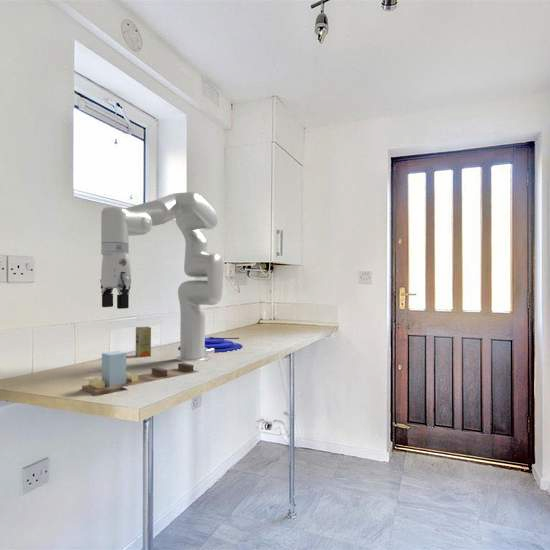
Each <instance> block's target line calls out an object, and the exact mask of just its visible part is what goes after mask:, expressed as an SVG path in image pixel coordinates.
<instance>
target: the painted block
mask: <svg viewBox="0 0 550 550" xmlns="http://www.w3.org/2000/svg"><path fill="white" fill-rule="evenodd" d="M126 373H127V352H125V351H119V350H117V351H116V350H115V351H110V352H109V351H108V352H107V351H106V352H102V353H101V380H103V381H105V385H106V386H108V387H112V386H117V385H122V384H126Z"/></svg>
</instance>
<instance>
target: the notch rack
mask: <svg viewBox="0 0 550 550" xmlns="http://www.w3.org/2000/svg"><path fill="white" fill-rule="evenodd" d="M199 372H200V371H199V370H195V369H194V364H192V363H185V362H180V363H179V362H178V364H177V367H176V368H170V369H165V368H162V367H158V366H157V367H151V372H149V373H144V374H135V373H131V372H129V371H126V384H122V385H117V386H112V387H108V386H106V385H105V381H103V380H102V379H99V378H97V377H92V378H88V384H83V385H81V390H84V391H86V392H88V393H89V394H93V395H94V396H102V395H107V394H112V393H117V392H122V391H126V390H128V389H127V388H125V387H129V386H135V385H139V384H144V383H150V382H155V381H159V380H166V379H169V378H174V377H180V376H184V375H190V374H194V373H199Z"/></svg>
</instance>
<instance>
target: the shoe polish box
mask: <svg viewBox="0 0 550 550" xmlns="http://www.w3.org/2000/svg"><path fill="white" fill-rule="evenodd" d="M151 350H152V327H150V326H149V325H148V326H136V327H135V357H138V358H143V357H144V358H145V357H152V354H151V353H152V351H151Z"/></svg>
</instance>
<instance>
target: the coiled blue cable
mask: <svg viewBox="0 0 550 550" xmlns="http://www.w3.org/2000/svg"><path fill="white" fill-rule="evenodd" d="M238 339H240V337H213V336H209V337H205V348H207V349H211V348H214V353H215V354H216V353H217V354H218V353H219V352H221V353H228V352H227V351H230V352H234V351H233V350H235V351H238V350H237V349H239V350H241V348H242V347H243V345H242V344H241V343H237V342H234V341H231V340H238ZM242 349H243V348H242ZM178 350H179V351H180V346H179V347H178ZM214 353H213V354H214ZM219 354H220V353H219Z"/></svg>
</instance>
